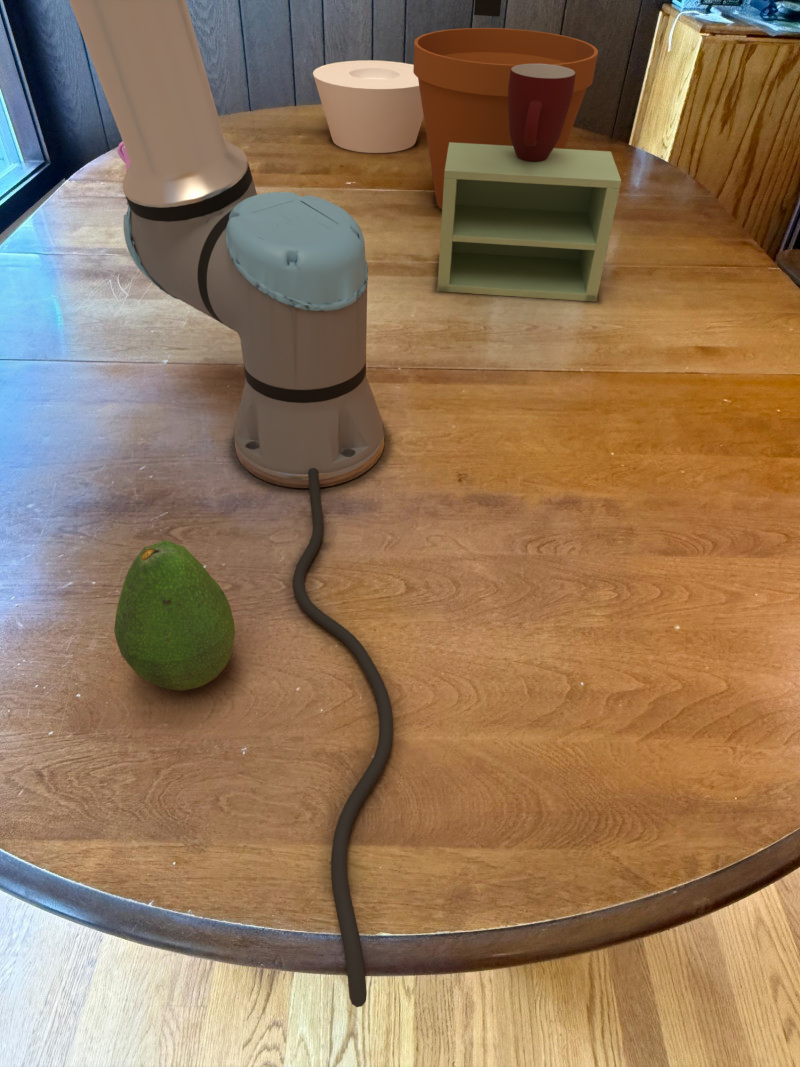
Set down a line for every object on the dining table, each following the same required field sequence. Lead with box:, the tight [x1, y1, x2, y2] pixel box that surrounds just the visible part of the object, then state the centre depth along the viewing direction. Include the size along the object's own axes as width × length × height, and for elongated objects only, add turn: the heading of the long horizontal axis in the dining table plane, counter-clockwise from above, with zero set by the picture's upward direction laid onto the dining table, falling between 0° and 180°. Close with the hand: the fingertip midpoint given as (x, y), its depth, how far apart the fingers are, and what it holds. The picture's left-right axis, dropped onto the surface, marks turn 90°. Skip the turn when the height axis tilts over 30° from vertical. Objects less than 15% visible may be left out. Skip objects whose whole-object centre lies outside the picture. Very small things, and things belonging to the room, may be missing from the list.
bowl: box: [312, 59, 424, 154], centre depth 156 cm, size 24×24×12 cm
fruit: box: [113, 539, 236, 691], centre depth 54 cm, size 8×8×12 cm
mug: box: [508, 64, 576, 162], centre depth 98 cm, size 10×8×10 cm
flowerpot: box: [413, 27, 599, 210], centre depth 126 cm, size 28×28×24 cm
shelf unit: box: [436, 142, 622, 303], centre depth 106 cm, size 12×22×16 cm, turn 85°
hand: (487, 6), depth 86 cm, fingers open, 13 cm apart
